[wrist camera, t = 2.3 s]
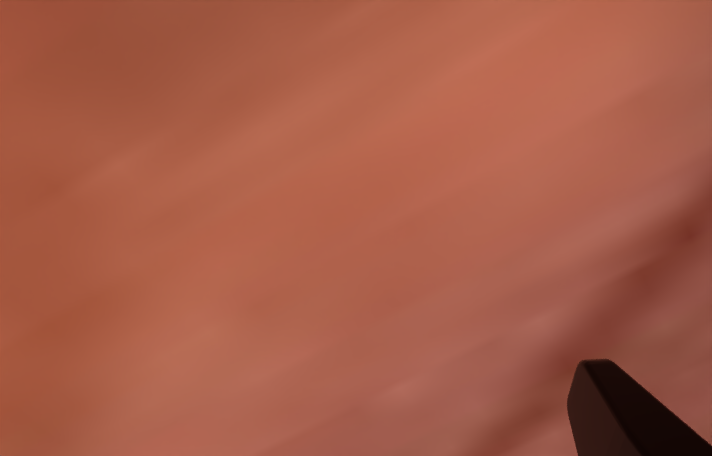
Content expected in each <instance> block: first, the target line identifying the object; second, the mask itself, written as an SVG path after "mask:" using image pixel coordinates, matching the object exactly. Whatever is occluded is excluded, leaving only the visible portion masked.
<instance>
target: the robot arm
mask: <svg viewBox="0 0 712 456" xmlns="http://www.w3.org/2000/svg"><path fill="white" fill-rule="evenodd" d="M567 410H568V416H569V420H570V424H571V428H572V432H573V436H574V441H575V445H576V449H577V453H578V456H712V446H711V445H710V444H709V443H708V442H707V441H705V440H704V439H703V438H702V437H701V436H700V435H698V434H697V433H696V432H695V431H694V430H693V429H691V428H690V427H689V426H688V425H687V424H686V423H684V422H683V421H682V420H681V419H680V418H679V417H677V416H676V415H675V414H674V413H673V412H671V411H670V410H669V409H668V408H667V407H666V406H664V405H663V404H662V403H661V402H660V401H659V400H657V399H656V398H655V397H654V396H653V395H652V394H650V393H649V392H648V391H647V390H646V389H645V388H643V387H642V386H641V385H640V384H639V383H638V382H636V381H635V380H634V379H633V378H632V377H631V376H629V375H628V374H627V373H626V372H625V371H624V370H622V369H621V368H620V367H619V366H618V365H616V364H615V363H614V362H612V361H611V360H608V359H589V360H582V361H580V362H579V364H578V365H577V368H576V371H575V374H574V378H573V381H572V384H571V388H570V391H569V395H568V399H567Z"/></svg>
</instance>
